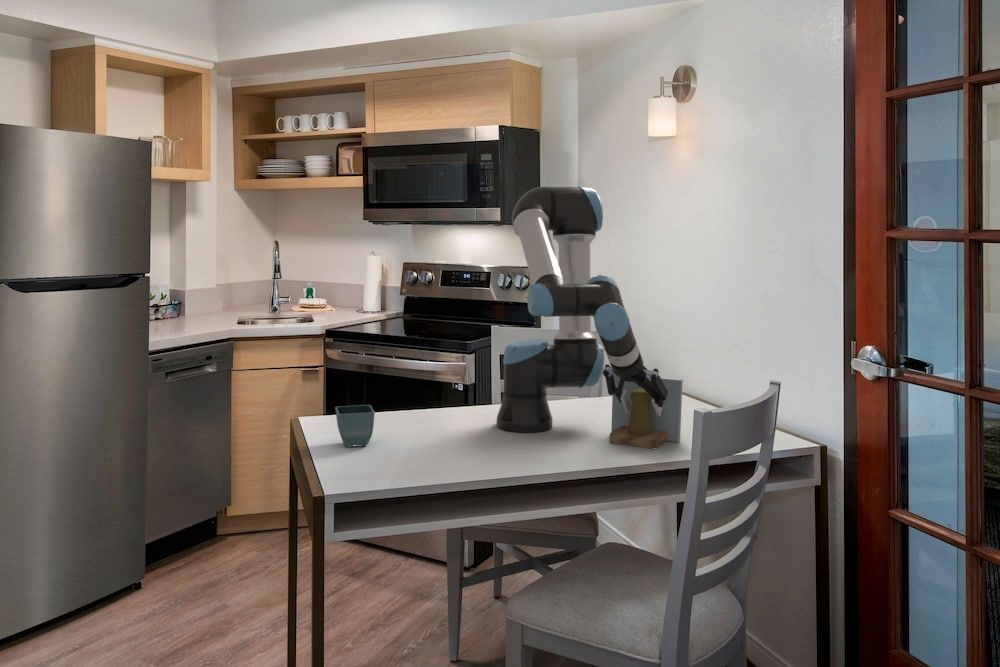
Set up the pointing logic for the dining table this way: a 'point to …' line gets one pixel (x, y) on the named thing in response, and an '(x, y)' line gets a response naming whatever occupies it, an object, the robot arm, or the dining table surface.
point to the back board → (669, 414)
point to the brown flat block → (638, 438)
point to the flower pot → (355, 424)
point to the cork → (640, 413)
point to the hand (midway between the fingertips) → (644, 410)
